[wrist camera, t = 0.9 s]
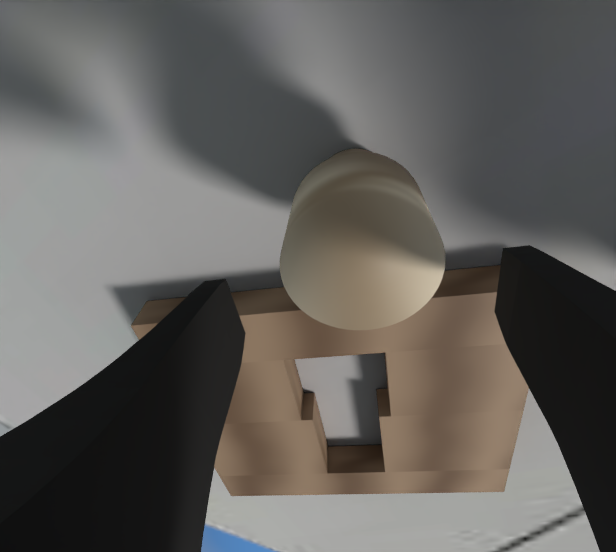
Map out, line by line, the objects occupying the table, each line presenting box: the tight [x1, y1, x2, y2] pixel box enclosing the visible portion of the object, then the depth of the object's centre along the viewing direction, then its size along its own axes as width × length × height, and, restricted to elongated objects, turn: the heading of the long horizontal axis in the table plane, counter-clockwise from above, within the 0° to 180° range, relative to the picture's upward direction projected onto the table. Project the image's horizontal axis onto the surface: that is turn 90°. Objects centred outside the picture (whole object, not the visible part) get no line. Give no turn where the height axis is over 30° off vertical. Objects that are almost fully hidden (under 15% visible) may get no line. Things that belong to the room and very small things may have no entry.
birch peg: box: [280, 149, 445, 330], centre depth 14 cm, size 5×5×6 cm
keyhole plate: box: [131, 265, 529, 496], centre depth 24 cm, size 20×18×2 cm
